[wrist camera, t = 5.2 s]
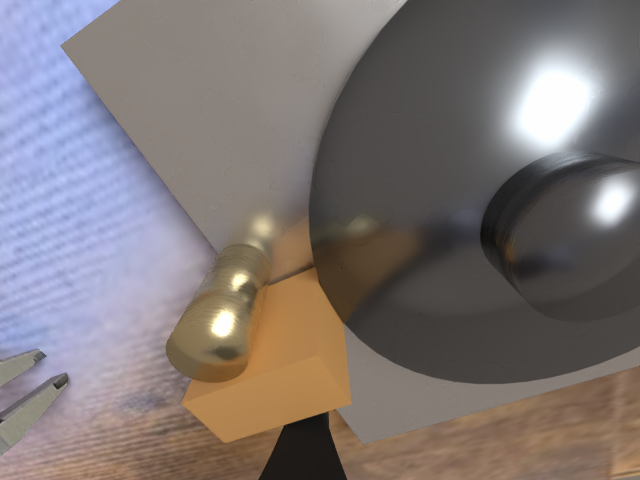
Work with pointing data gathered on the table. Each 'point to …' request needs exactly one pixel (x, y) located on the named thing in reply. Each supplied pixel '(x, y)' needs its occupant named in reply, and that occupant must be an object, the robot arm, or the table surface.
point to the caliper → (25, 399)
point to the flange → (461, 210)
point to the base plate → (260, 175)
